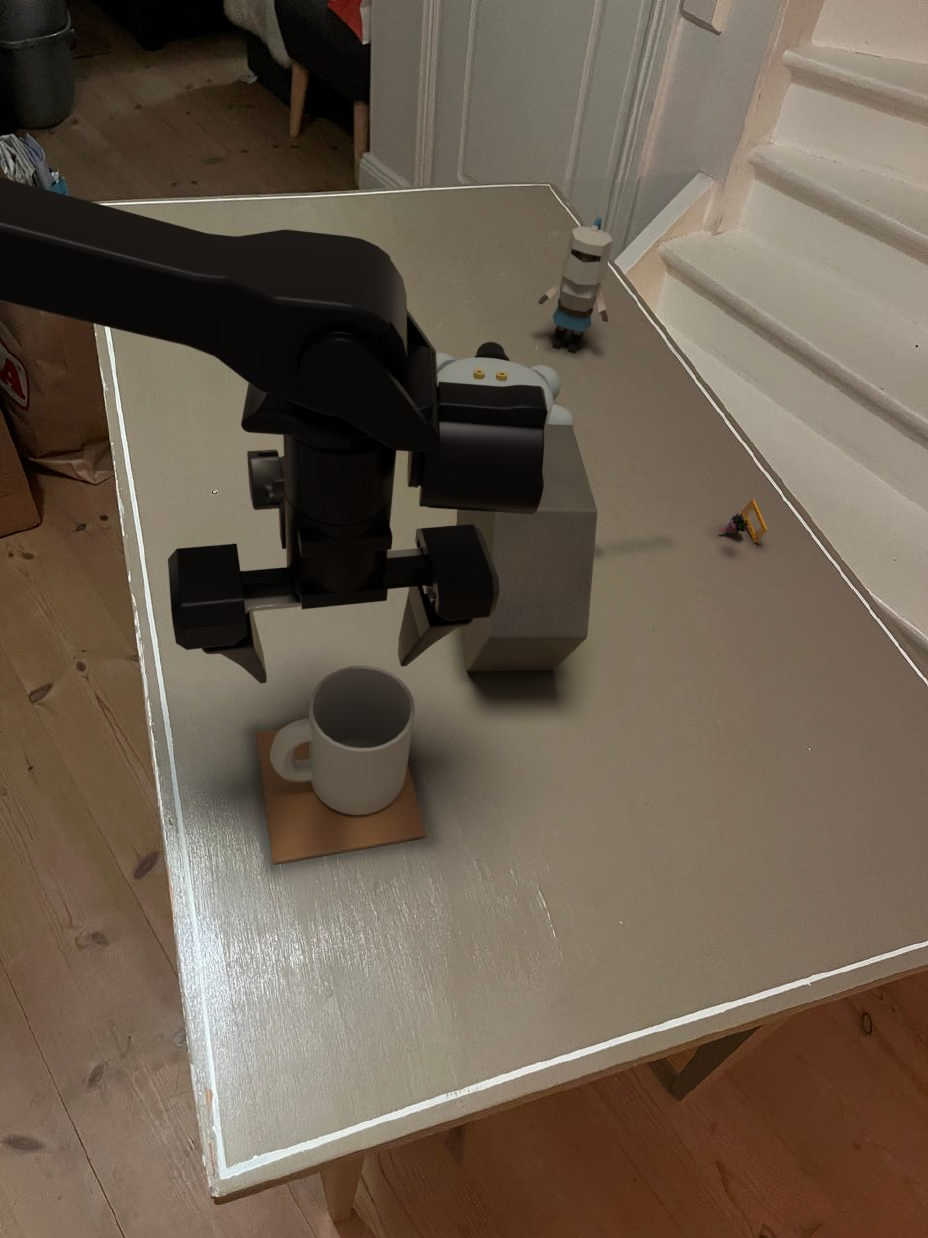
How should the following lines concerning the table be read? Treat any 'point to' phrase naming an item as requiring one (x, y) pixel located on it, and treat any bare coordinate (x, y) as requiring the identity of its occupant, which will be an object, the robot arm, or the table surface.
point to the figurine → (503, 376)
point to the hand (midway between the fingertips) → (333, 669)
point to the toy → (580, 283)
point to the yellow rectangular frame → (740, 524)
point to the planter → (538, 569)
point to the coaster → (327, 815)
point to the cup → (351, 740)
